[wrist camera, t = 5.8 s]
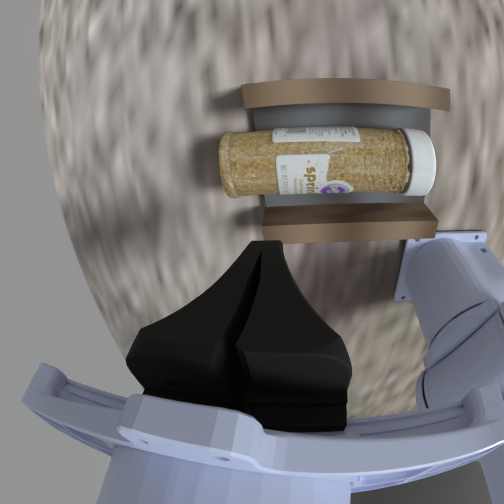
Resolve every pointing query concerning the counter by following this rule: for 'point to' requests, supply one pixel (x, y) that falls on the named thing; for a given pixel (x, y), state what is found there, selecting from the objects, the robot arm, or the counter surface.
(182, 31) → the counter surface
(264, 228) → the cradle
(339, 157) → the sprinkles bottle
